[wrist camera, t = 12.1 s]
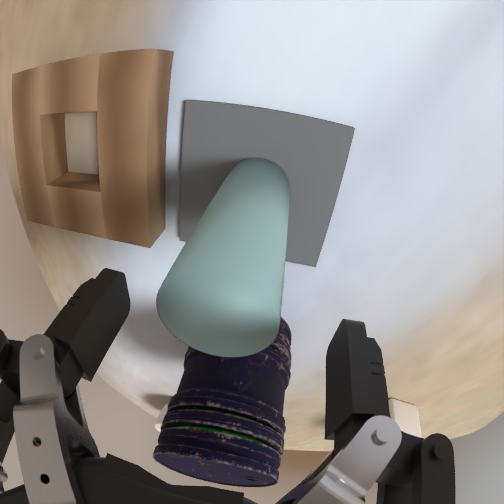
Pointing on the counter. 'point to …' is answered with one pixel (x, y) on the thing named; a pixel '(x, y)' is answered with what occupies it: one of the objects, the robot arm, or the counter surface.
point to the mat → (274, 149)
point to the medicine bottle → (405, 417)
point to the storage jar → (229, 416)
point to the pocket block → (108, 140)
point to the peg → (232, 266)
